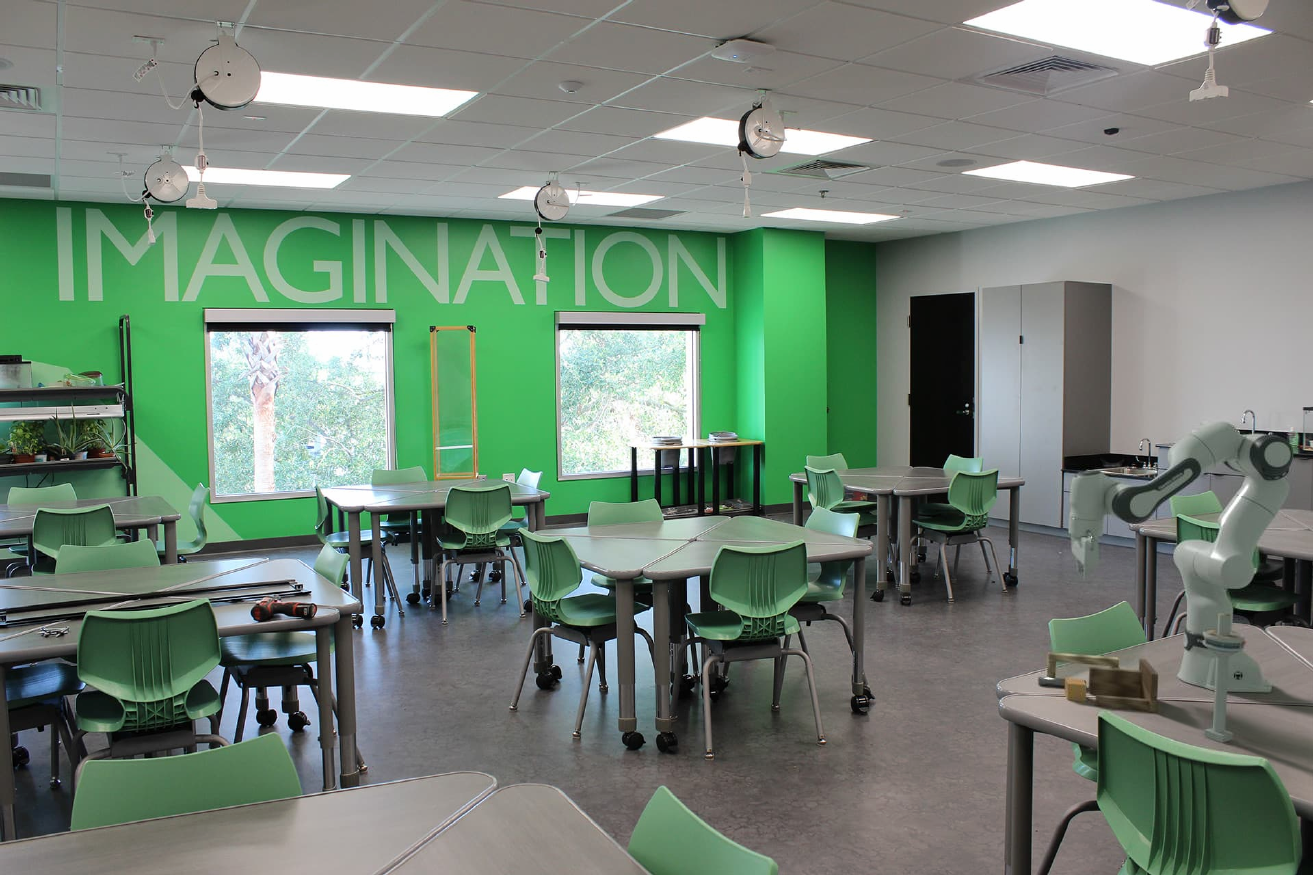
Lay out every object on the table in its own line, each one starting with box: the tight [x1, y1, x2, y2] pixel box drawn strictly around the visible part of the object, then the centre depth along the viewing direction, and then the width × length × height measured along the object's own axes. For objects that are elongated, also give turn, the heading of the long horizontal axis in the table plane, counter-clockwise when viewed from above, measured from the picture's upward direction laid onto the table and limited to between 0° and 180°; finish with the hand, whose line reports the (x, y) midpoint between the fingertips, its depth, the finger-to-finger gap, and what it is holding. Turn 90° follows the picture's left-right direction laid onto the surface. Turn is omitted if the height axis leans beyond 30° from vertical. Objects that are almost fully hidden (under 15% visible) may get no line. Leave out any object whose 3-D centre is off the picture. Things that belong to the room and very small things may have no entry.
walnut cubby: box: [1088, 658, 1159, 714], centre depth 250 cm, size 14×13×10 cm
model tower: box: [1203, 613, 1245, 744], centre depth 224 cm, size 8×8×30 cm
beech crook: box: [1046, 651, 1121, 678], centre depth 264 cm, size 18×6×8 cm, turn 75°
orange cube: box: [1064, 677, 1087, 702], centre depth 253 cm, size 4×4×4 cm
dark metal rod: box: [1037, 676, 1087, 688], centre depth 262 cm, size 12×2×2 cm
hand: (1083, 576), depth 267 cm, fingers open, 8 cm apart
